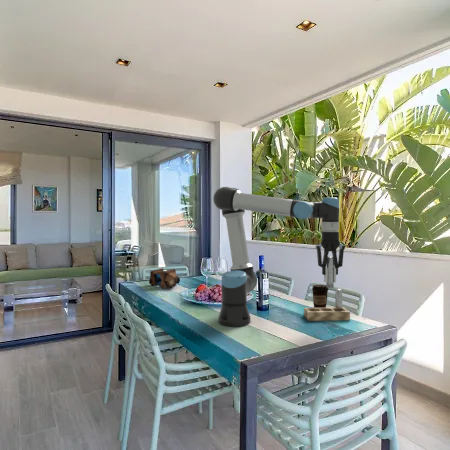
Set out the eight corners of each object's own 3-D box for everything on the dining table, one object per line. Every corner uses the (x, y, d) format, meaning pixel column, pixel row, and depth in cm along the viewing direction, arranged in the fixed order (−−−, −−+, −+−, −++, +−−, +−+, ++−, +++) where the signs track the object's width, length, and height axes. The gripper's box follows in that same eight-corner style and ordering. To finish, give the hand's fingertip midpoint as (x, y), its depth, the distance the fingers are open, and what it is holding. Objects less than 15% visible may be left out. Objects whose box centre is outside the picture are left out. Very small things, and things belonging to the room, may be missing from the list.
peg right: (336, 318, 167) (336, 290, 166) (334, 316, 170) (334, 288, 169) (343, 318, 167) (343, 289, 166) (340, 316, 170) (340, 288, 169)
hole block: (308, 320, 164) (308, 312, 164) (304, 315, 172) (304, 307, 172) (350, 320, 164) (350, 311, 164) (344, 315, 172) (344, 307, 172)
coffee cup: (329, 312, 177) (329, 287, 177) (312, 311, 179) (312, 286, 178) (327, 307, 186) (327, 283, 185) (311, 307, 187) (311, 283, 187)
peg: (327, 288, 158) (327, 257, 157) (325, 286, 161) (325, 256, 161) (334, 288, 158) (334, 257, 157) (332, 286, 161) (332, 256, 161)
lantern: (155, 293, 251) (178, 296, 235) (142, 278, 243) (166, 281, 227) (167, 276, 260) (191, 278, 244) (155, 261, 252) (179, 262, 236)
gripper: (314, 231, 155) (314, 283, 156) (351, 231, 155) (350, 283, 156) (310, 230, 162) (310, 280, 163) (345, 230, 162) (344, 280, 163)
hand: (329, 281), depth 159 cm, fingers closed on peg, 3 cm apart
